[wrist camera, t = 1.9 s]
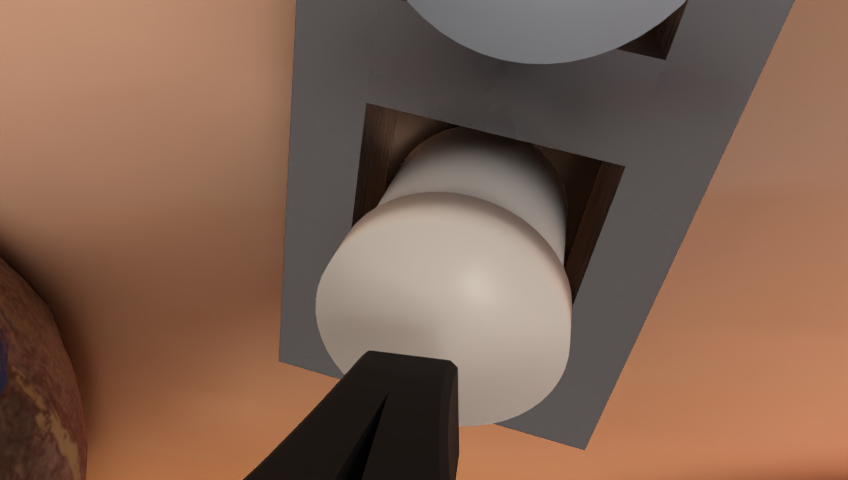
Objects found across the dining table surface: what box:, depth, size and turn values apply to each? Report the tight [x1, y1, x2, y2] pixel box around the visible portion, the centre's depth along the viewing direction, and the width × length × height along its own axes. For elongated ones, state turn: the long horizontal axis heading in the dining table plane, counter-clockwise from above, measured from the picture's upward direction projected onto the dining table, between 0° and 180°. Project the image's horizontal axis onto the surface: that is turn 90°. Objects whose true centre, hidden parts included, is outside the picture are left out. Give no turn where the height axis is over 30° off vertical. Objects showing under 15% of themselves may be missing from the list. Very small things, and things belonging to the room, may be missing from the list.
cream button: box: [316, 126, 572, 427], centre depth 13 cm, size 4×4×4 cm
